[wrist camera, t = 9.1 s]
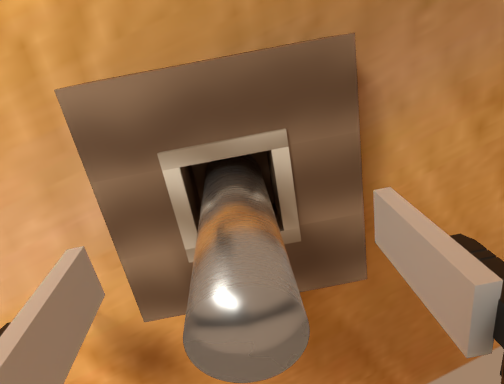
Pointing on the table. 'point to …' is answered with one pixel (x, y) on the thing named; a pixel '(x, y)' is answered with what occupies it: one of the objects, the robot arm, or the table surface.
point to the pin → (242, 281)
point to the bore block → (221, 147)
